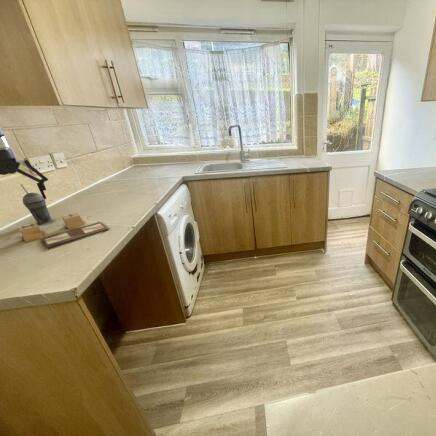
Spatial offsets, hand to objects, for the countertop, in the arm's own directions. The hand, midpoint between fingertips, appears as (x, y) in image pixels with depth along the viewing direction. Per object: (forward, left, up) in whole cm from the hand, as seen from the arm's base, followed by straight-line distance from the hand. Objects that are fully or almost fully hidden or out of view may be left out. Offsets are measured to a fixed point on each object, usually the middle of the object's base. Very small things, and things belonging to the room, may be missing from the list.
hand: (22, 202), depth 100 cm
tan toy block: (+1, -2, -15) cm, 15 cm away
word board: (+14, +10, -15) cm, 23 cm away
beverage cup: (-14, +4, -15) cm, 21 cm away
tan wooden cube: (+1, +12, -15) cm, 19 cm away
